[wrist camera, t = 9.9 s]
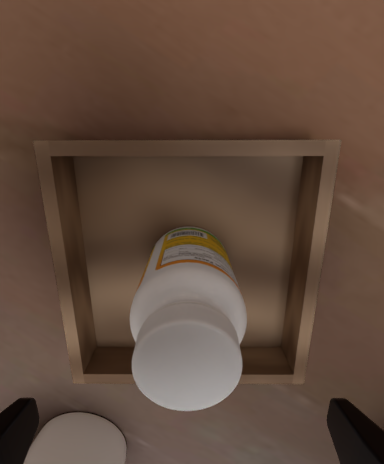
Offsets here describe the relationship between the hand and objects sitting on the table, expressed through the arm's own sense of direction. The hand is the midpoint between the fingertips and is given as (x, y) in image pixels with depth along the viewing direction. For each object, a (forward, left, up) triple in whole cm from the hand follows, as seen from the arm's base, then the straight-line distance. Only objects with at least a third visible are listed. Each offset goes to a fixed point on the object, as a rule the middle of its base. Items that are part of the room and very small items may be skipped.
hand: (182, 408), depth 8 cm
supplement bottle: (0, 0, -11) cm, 11 cm away
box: (0, 0, -12) cm, 12 cm away
